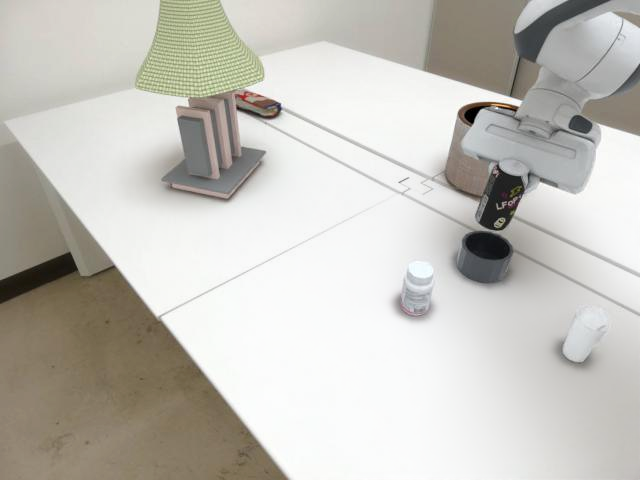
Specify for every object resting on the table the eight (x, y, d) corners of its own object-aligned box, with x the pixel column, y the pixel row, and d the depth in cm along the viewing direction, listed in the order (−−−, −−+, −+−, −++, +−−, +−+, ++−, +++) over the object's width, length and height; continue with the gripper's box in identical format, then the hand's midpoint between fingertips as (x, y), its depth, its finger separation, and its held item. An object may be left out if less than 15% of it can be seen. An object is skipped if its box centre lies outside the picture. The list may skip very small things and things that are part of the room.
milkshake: (561, 367, 67) (586, 322, 61) (555, 339, 71) (578, 294, 65) (594, 373, 66) (623, 328, 60) (586, 344, 70) (613, 299, 64)
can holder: (512, 262, 85) (519, 241, 82) (497, 290, 79) (504, 269, 76) (466, 245, 89) (472, 224, 86) (449, 270, 83) (454, 249, 80)
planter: (429, 171, 111) (440, 109, 101) (484, 155, 117) (499, 95, 107) (480, 208, 99) (498, 142, 89) (538, 188, 105) (562, 124, 95)
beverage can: (513, 224, 78) (540, 166, 70) (496, 239, 75) (522, 181, 67) (484, 208, 81) (507, 150, 73) (467, 222, 78) (488, 164, 70)
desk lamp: (247, 216, 96) (222, 7, 71) (134, 192, 103) (75, -6, 78) (292, 159, 115) (285, -21, 90) (194, 142, 122) (162, -30, 97)
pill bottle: (406, 291, 79) (412, 255, 74) (432, 302, 77) (441, 265, 72) (395, 309, 76) (401, 272, 71) (422, 320, 74) (430, 283, 69)
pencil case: (251, 96, 147) (250, 80, 144) (287, 115, 136) (286, 99, 133) (221, 104, 142) (219, 88, 139) (256, 125, 130) (254, 109, 127)
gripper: (480, 94, 76) (440, 167, 77) (612, 130, 65) (564, 215, 66) (486, 111, 81) (449, 179, 82) (609, 147, 71) (565, 226, 71)
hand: (501, 196), depth 74 cm, fingers closed on beverage can, 3 cm apart
